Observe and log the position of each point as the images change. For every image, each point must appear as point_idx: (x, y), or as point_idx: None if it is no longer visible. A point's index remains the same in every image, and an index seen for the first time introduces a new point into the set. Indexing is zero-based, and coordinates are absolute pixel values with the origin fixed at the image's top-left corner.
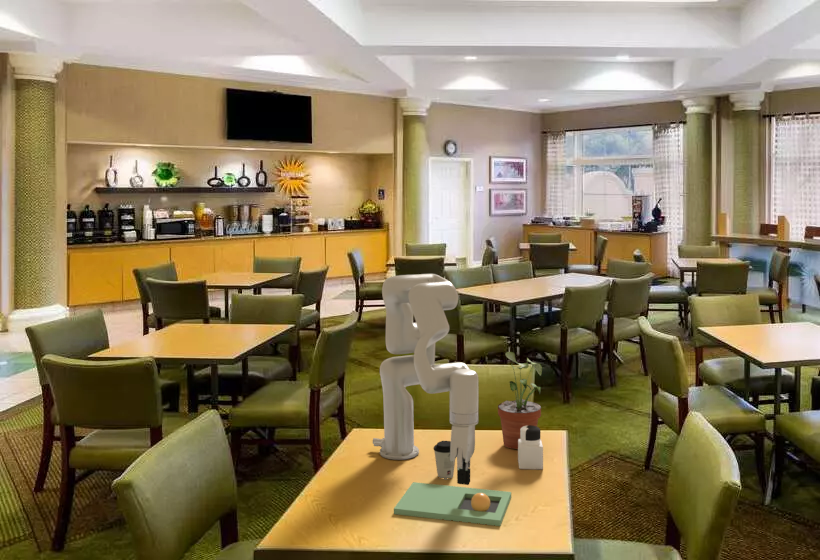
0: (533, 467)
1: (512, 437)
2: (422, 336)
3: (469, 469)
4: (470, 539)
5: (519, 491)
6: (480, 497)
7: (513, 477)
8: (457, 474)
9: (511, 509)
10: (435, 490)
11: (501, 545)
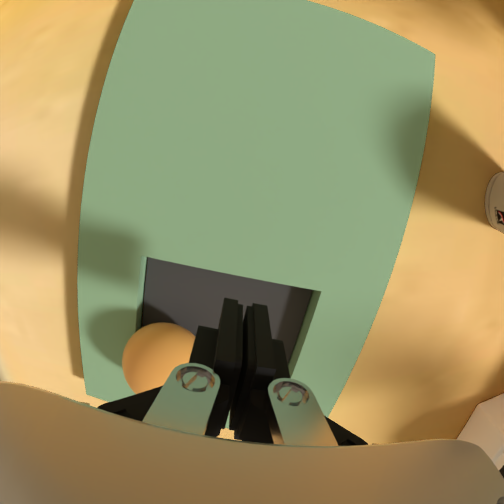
0: (464, 431)
1: None
2: None
3: (236, 434)
4: (2, 291)
5: (354, 432)
6: (132, 384)
7: (444, 404)
8: (219, 332)
9: None
10: (358, 141)
11: (9, 361)
